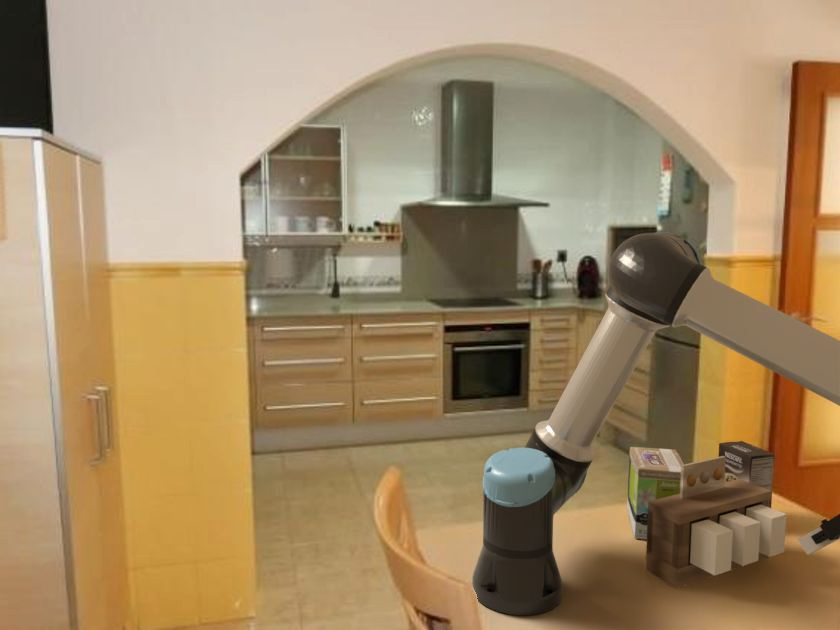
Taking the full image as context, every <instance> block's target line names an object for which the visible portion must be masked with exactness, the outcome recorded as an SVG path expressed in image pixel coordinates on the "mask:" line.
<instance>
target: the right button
mask: <svg viewBox="0 0 840 630" xmlns="http://www.w3.org/2000/svg"><path fill="white" fill-rule="evenodd" d="M746 516H747V517H749V518H752V519H754V520H757V521H759V522H760V539H759V552H760V553H762V554H764V555H766V556H768V558H769V557H770V558H771V557H774V556H776V555H779V554H782V553H784V552H785V542H786V529H787V527H786V526H787V513H784V512H782V511H780V510H776V509H774V508H772V507H771V508H769V507H767V506H764V505H761V504H760V505H757V506H753V507H750V508H746Z"/></svg>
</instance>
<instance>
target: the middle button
mask: <svg viewBox="0 0 840 630" xmlns="http://www.w3.org/2000/svg"><path fill="white" fill-rule="evenodd" d="M719 524H720V525H722V526H724V527H726V528H729V529H731V530H733V539H732V557H731V560H732V561H734V562H736V563H738V564H740V565H742V567H744V565H745V566H748V565H751V564H753V562H754V563H757V562H759V561H758V556H759V539H760V522H759V521H757V520H754V519H752V518H749V517H747V516H744V515H742V514H740V513H737V512H732V513H728V514H725V515H721V516H720V521H719ZM756 561H757V562H756ZM750 563H751V564H750ZM747 564H748V565H747Z"/></svg>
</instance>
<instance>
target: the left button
mask: <svg viewBox="0 0 840 630" xmlns="http://www.w3.org/2000/svg"><path fill="white" fill-rule="evenodd" d="M732 539H733V530H731V529H729V528H726V527H724V526H722V525H720V524H717V523H715V522H713V521H711V520H708V519H707V520H704V521H700V522H697V523H693V524H692V529H691V551H690V563H692V564H693V565H695V566H697V567H699V568H701V569H703V570H705V571H707V572H709V573H710V574H712V575H714V576H713V577H715V575H716V576H718V574H719V575H721V574H725V573H728V572H729V571H732V570H731V557H732Z"/></svg>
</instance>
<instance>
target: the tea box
mask: <svg viewBox="0 0 840 630" xmlns="http://www.w3.org/2000/svg"><path fill="white" fill-rule="evenodd" d="M628 456H629V457H628V459H629V460H628V462H629V463H628V479H627V499H626V500H627V501H626V510H627V513H628V518H629V523H630V526H631V530H632V534H633V537H634V539H637V540H638V539H639V540H644V541H645V540H646V541H647V523H648V502H649V501H653V500H657V499H661V498H665V497H669V496H673V495H677V494H680V480H681V465H685V464H686V463H684V461H683V460H682V458H681V455H680V454H679V453H678V451H677V449H674V448H673V449H670V448H655V447H640V446H630V447H629V455H628Z"/></svg>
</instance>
